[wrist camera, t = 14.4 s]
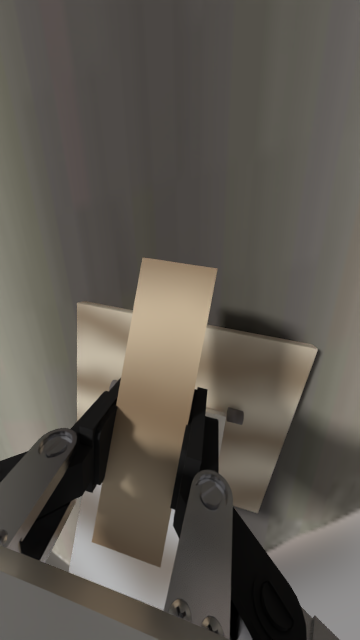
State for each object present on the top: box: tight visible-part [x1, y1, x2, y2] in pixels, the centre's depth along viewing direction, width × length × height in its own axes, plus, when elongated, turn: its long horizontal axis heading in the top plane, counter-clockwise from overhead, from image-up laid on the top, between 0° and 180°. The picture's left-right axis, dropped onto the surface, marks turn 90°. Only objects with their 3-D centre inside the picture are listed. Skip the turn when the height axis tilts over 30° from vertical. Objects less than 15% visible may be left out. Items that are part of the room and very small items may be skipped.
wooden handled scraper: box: [69, 258, 217, 610], centre depth 10 cm, size 19×8×4 cm, turn 171°
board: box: [77, 301, 318, 513], centre depth 18 cm, size 18×20×2 cm
